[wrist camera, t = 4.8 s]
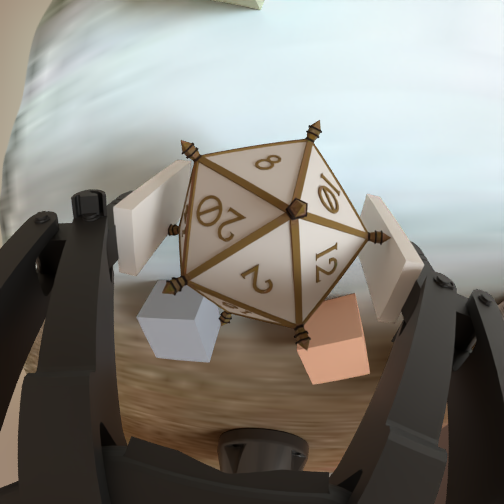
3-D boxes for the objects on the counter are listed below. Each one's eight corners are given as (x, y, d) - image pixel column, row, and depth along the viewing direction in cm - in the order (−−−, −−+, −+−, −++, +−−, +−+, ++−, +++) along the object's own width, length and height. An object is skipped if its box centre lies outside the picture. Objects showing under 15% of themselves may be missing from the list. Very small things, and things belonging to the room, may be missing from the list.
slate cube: (221, 321, 28) (209, 362, 24) (173, 319, 29) (156, 357, 25) (210, 279, 26) (194, 320, 21) (158, 279, 27) (136, 317, 22)
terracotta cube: (363, 331, 27) (370, 373, 22) (313, 342, 28) (312, 384, 24) (354, 292, 24) (362, 336, 20) (298, 306, 26) (296, 350, 22)
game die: (249, 192, 20) (107, 260, 14) (303, 79, 13) (99, 106, 7) (346, 296, 17) (219, 412, 12) (446, 205, 11) (325, 377, 5)
